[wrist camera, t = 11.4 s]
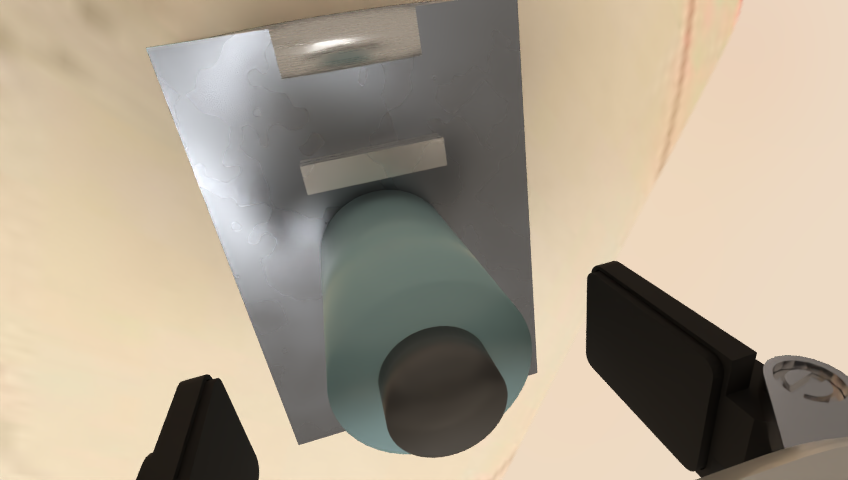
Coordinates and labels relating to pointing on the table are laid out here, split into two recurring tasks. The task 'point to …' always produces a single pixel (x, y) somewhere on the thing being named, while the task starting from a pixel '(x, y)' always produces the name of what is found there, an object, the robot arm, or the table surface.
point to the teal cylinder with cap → (415, 330)
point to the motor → (351, 155)
